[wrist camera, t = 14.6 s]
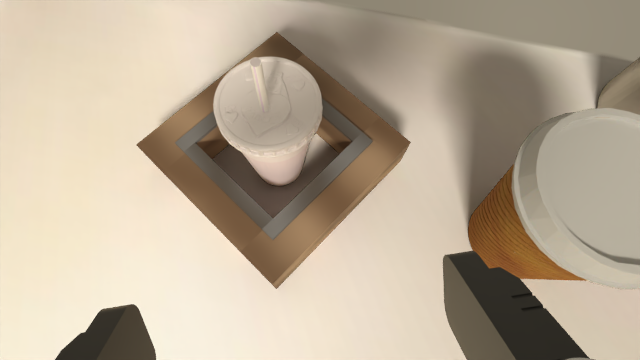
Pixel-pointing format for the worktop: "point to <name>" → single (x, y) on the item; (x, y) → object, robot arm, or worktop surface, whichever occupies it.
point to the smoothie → (269, 115)
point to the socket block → (311, 203)
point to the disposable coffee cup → (568, 203)
